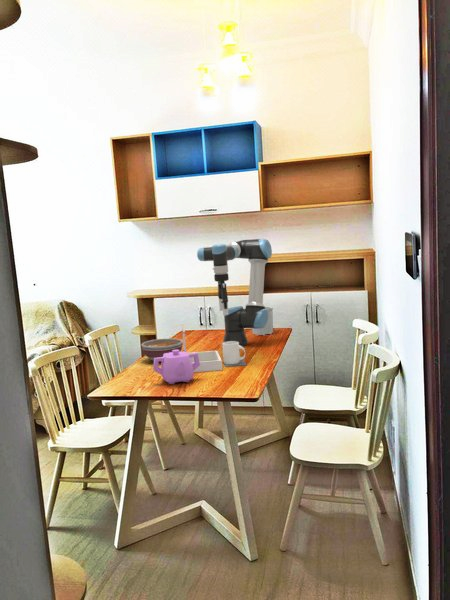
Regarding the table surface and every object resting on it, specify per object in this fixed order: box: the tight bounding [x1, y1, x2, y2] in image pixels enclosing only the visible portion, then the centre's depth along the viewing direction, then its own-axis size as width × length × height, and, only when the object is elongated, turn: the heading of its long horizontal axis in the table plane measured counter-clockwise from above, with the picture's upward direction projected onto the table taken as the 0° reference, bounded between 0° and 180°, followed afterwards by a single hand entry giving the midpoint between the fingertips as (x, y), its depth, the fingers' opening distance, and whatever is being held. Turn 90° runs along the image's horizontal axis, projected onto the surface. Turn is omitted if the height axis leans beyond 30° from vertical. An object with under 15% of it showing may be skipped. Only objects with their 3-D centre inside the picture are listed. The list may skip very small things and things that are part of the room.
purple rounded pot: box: [152, 350, 201, 385], centre depth 269 cm, size 19×18×15 cm
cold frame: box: [181, 323, 223, 373], centre depth 295 cm, size 18×24×21 cm
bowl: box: [140, 337, 184, 363], centre depth 316 cm, size 23×23×10 cm
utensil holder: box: [251, 305, 274, 336], centre depth 376 cm, size 15×15×18 cm
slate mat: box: [222, 359, 247, 368], centre depth 297 cm, size 11×11×1 cm
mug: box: [222, 341, 246, 365], centre depth 296 cm, size 9×12×11 cm
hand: (224, 312), depth 305 cm, fingers open, 13 cm apart
